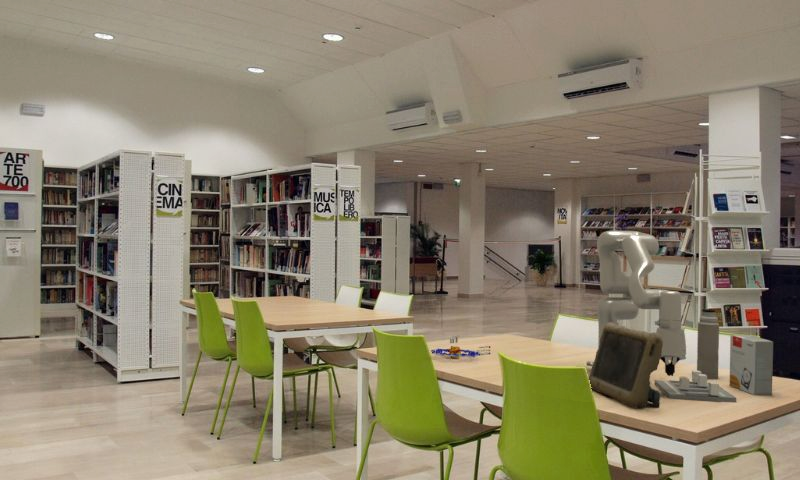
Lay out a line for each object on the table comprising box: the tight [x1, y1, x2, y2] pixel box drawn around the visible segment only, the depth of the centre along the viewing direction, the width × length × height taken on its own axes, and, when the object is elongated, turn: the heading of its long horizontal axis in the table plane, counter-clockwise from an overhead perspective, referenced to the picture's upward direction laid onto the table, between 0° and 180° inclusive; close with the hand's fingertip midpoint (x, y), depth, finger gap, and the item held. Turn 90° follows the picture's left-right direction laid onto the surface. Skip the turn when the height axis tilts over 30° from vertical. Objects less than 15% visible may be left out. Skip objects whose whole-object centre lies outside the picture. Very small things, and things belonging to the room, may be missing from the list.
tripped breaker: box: [678, 375, 690, 390], centre depth 238 cm, size 3×3×4 cm
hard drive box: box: [729, 334, 774, 396], centre depth 246 cm, size 16×8×20 cm, turn 5°
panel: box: [654, 379, 737, 403], centre depth 240 cm, size 22×25×2 cm
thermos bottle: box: [696, 308, 720, 380], centre depth 270 cm, size 8×8×28 cm
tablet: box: [588, 322, 663, 410], centre depth 231 cm, size 33×14×25 cm, turn 16°
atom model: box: [428, 335, 492, 360], centre depth 304 cm, size 35×26×10 cm
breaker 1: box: [691, 370, 702, 383], centre depth 250 cm, size 3×3×4 cm
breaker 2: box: [708, 381, 720, 396], centre depth 229 cm, size 3×3×4 cm
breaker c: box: [697, 374, 708, 387], centre depth 243 cm, size 3×3×4 cm
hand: (669, 375), depth 238 cm, fingers closed
